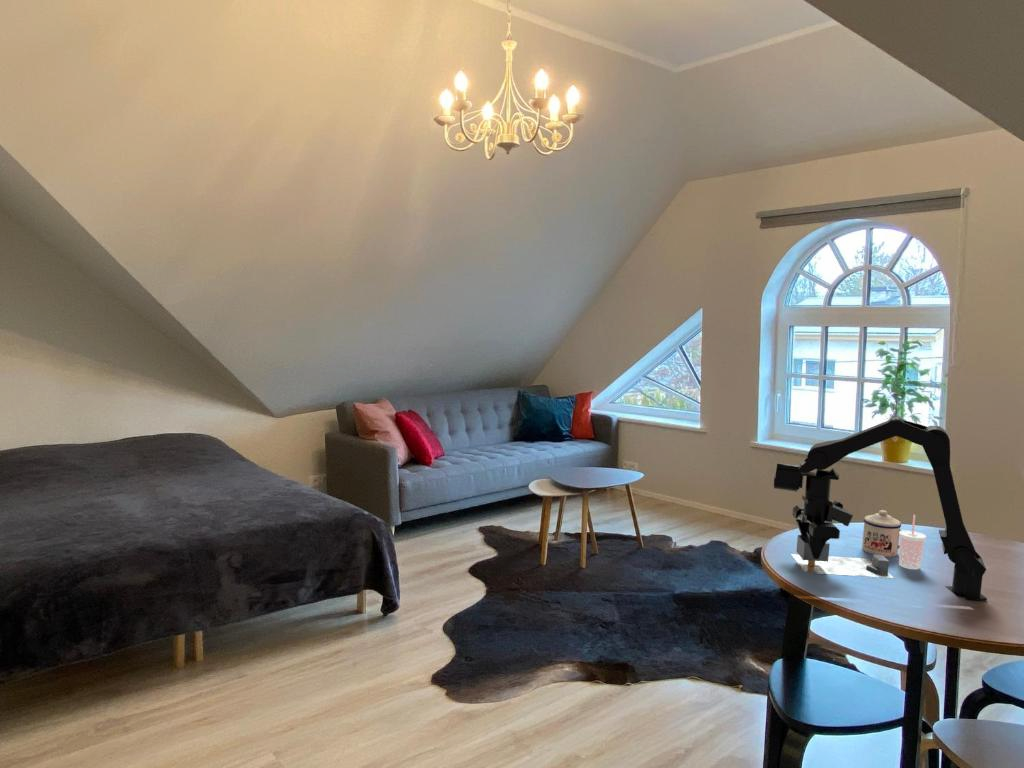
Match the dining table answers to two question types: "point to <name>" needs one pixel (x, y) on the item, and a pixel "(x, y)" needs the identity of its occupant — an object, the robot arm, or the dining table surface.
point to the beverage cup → (911, 548)
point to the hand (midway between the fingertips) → (812, 554)
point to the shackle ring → (806, 551)
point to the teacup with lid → (881, 534)
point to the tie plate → (848, 566)
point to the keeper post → (811, 563)
